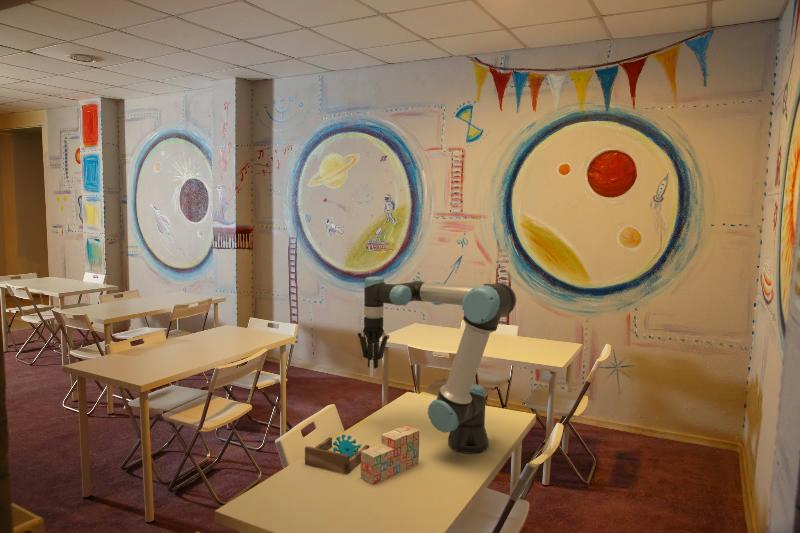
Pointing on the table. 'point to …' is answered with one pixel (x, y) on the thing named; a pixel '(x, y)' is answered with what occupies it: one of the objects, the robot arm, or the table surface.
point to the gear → (346, 446)
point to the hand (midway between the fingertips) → (372, 375)
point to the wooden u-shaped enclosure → (331, 458)
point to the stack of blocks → (391, 455)
